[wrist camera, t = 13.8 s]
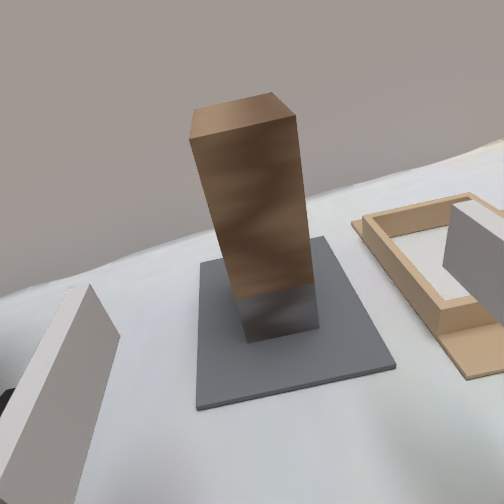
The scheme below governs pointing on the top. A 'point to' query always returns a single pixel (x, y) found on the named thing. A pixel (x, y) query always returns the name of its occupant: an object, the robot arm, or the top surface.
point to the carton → (426, 297)
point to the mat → (283, 339)
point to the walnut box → (258, 211)
